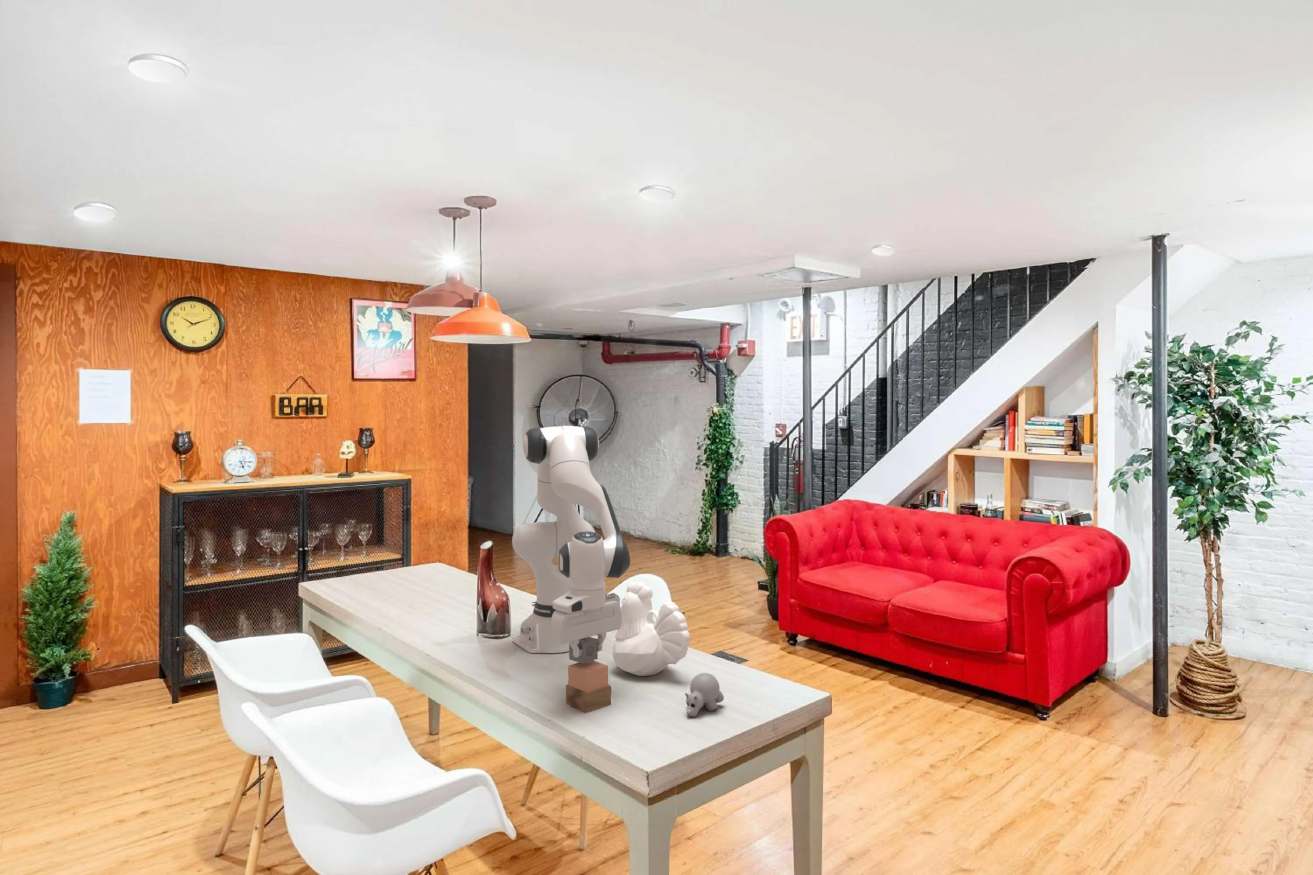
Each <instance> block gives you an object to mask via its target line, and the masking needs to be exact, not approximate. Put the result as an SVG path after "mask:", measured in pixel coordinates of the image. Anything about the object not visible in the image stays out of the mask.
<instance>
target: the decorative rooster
mask: <svg viewBox="0 0 1313 875" xmlns="http://www.w3.org/2000/svg"><path fill="white" fill-rule="evenodd" d="M653 593H654V592H653V590H652V588H651V587H650V586H647V585H646V583H644V582H641V581H637V582H634V581H631V582H630V583H628V585H627V588H626V593H625V594H624V595H622V596H621V598H620V604H621V606H620V607H621V614H622V626H621V628H620V629H618V630H616V634H615V636H614V637H615V640H614V642H613V647H612V658H613V661H614V664H616V666H617V667H618V668H620V669H621V670H623V671H624V672H627V673H630V674H632V675H634V676H635V675H636V676H640V677H647V676H648V677H649V676H656V675H657V674H659V673H660V672H662V671H664V670H665V669H666V668H667V667H668V666H669V665H676V664H677V663H679V662H680V660H683V659H684V658H685V657H686V655H687V654H688V650H689V648H688V647H690V643H691V642H690V640H691V634H690V632H689V630H688V628H689V626H688V623H687V619H686V616H684V614H683V613H682V612H681V611H680V608H679V606H678V605H677V604H676V603H675V602H674V601H666V602H664V603H662V605H661V606H660V608H659V611H658V610H657V609H653V603H652V598H653V595H654V594H653ZM654 617H655V619H654Z"/></svg>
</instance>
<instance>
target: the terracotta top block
mask: <svg viewBox="0 0 1313 875" xmlns="http://www.w3.org/2000/svg"><path fill="white" fill-rule="evenodd" d="M567 666H568V667H567V668H568V672H567V673H568V674H567V676H568V677H567V678H568V679H567V681H568V682H567V683H568V685H569V686H571V687H574V688H576V689H579V690H581V691H584V692H586V693H587V692H590V691H593V690H596V689H599V688H602V687H605V686H608V684H609V665H608V664H605V663H603V662H599V661H596V660H592V661H589V662H586V663H583V664H582V663H579V662H576V663H572V664H569V665H567Z"/></svg>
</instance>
